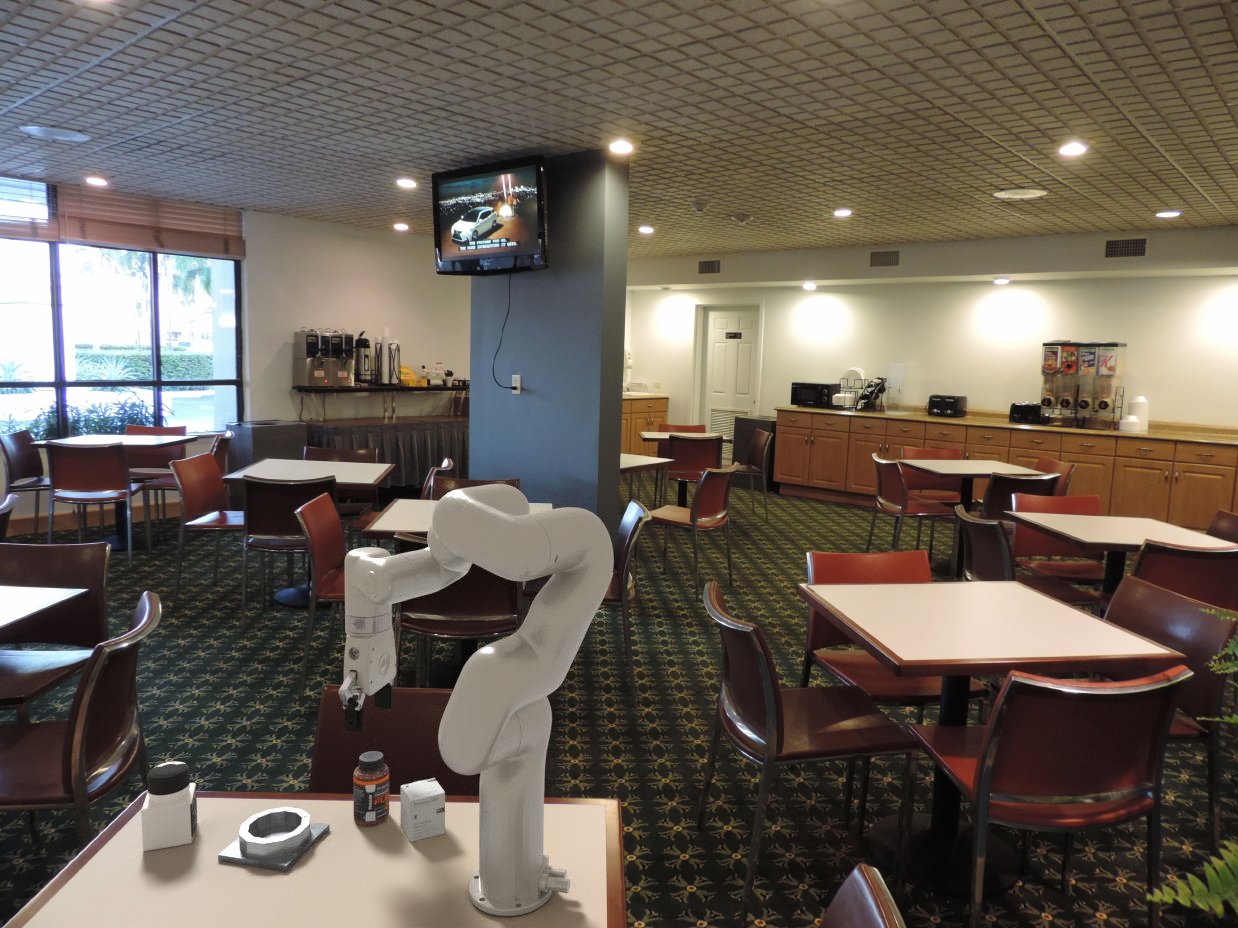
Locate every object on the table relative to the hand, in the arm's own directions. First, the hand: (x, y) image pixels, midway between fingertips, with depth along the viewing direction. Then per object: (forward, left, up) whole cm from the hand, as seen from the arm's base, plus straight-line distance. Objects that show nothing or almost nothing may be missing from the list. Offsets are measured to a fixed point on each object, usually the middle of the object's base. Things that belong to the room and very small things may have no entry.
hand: (369, 718), depth 140 cm
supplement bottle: (0, 0, -18) cm, 18 cm away
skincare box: (-10, +1, -18) cm, 21 cm away
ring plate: (+11, +11, -18) cm, 24 cm away
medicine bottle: (+29, +13, -18) cm, 36 cm away
